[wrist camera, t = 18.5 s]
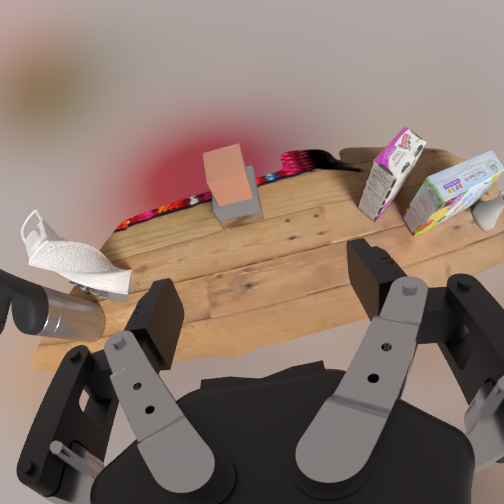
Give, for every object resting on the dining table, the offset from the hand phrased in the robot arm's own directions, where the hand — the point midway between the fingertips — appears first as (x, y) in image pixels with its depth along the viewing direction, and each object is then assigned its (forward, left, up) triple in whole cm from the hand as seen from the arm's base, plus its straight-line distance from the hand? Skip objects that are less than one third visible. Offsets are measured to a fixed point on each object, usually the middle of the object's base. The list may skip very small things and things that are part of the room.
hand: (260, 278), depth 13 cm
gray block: (-4, +25, -35) cm, 43 cm away
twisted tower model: (-33, +15, -39) cm, 53 cm away
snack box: (+38, +16, -39) cm, 57 cm away
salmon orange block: (-4, +25, -31) cm, 40 cm away
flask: (+50, +12, -39) cm, 64 cm away
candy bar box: (+24, +21, -39) cm, 50 cm away
